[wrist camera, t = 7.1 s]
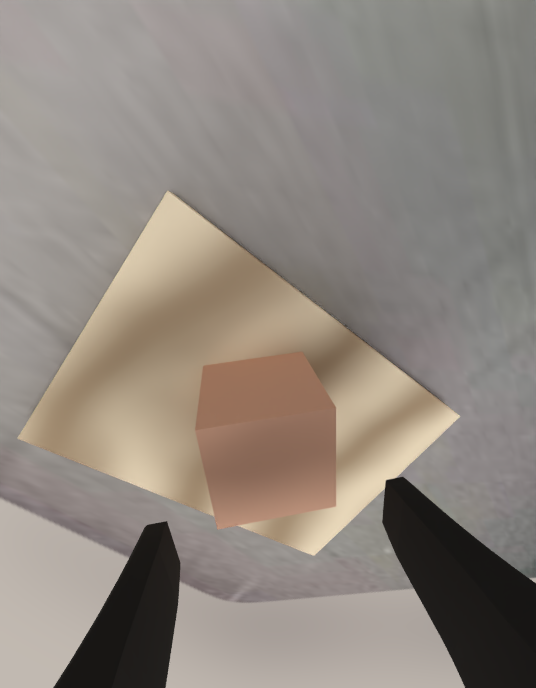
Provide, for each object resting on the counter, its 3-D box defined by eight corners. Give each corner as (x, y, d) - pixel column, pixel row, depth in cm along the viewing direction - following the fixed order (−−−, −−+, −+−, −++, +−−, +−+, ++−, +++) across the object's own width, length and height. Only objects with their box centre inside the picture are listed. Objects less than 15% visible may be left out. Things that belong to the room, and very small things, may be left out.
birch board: (443, 402, 20) (460, 416, 19) (308, 535, 23) (313, 555, 22) (173, 193, 13) (167, 190, 12) (34, 420, 16) (17, 438, 15)
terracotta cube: (302, 351, 16) (336, 407, 11) (306, 430, 17) (336, 506, 13) (203, 365, 15) (194, 430, 10) (218, 445, 17) (217, 529, 12)
